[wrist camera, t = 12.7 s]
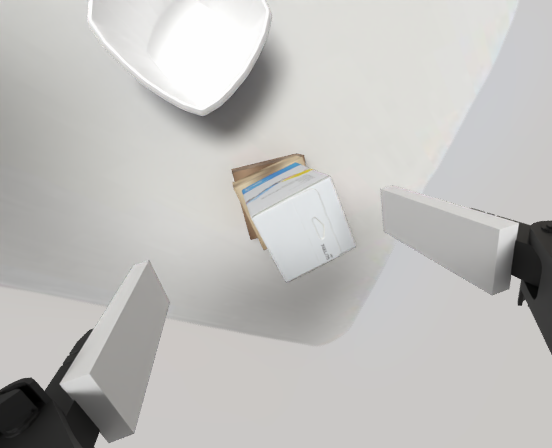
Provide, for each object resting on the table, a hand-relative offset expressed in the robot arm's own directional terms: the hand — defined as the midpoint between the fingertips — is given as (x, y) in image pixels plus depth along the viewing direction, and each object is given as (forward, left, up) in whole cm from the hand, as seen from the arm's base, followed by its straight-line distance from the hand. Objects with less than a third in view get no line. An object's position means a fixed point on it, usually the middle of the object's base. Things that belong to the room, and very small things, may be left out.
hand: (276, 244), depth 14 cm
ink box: (+4, -4, -21) cm, 22 cm away
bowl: (-1, +17, -30) cm, 34 cm away
